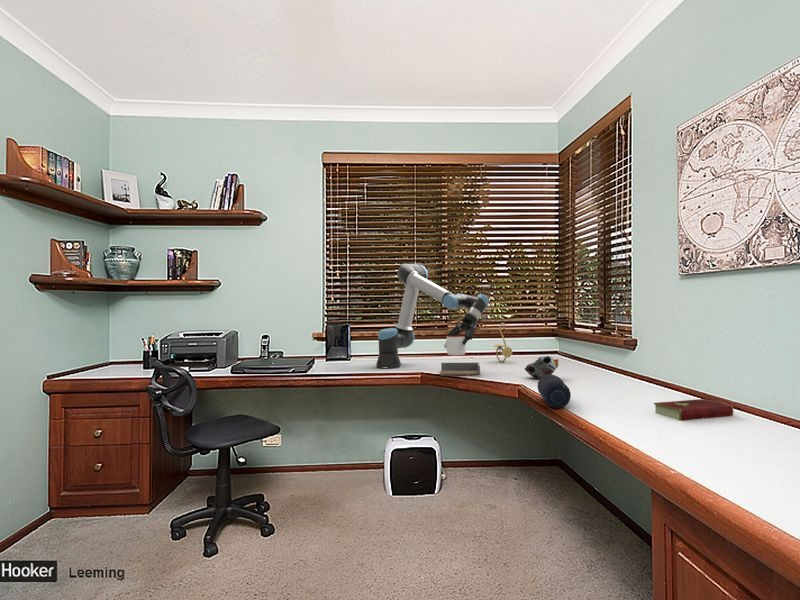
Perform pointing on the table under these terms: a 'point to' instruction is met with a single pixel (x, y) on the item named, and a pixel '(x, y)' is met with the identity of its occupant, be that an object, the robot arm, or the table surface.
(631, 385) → the table surface
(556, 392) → the portable speaker
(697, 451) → the table surface
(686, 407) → the hardcover book
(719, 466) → the table surface
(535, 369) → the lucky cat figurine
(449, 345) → the cup
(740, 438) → the table surface
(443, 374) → the pen base
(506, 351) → the wall sconce
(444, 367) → the pen walls
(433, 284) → the robot arm
